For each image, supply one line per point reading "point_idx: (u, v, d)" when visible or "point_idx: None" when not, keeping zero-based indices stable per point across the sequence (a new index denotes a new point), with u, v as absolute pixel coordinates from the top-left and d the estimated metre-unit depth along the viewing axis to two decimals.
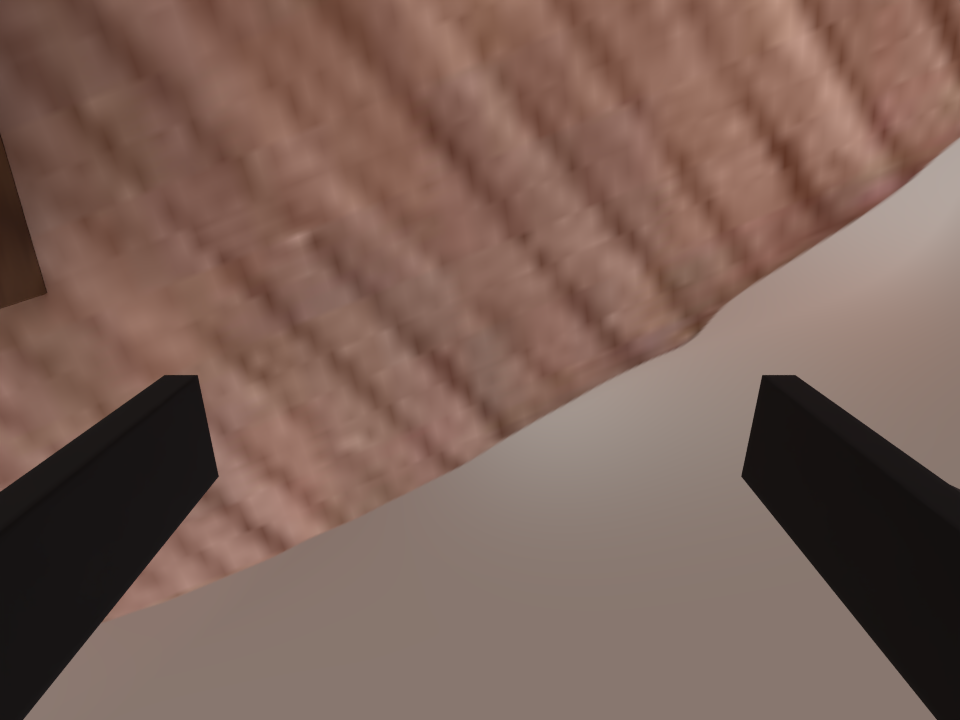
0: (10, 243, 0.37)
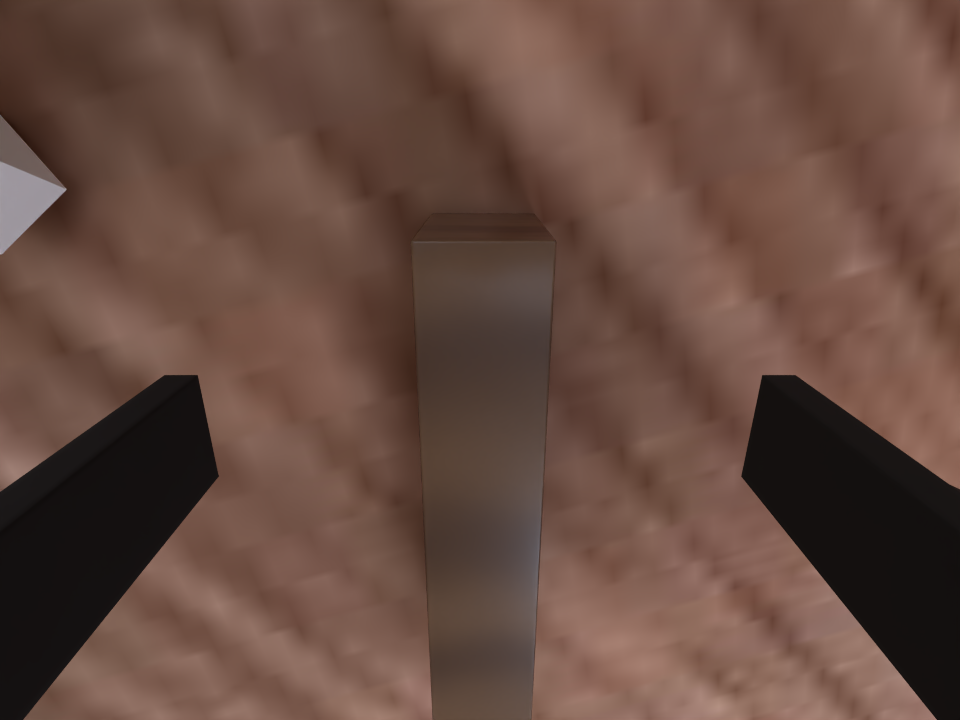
0: None
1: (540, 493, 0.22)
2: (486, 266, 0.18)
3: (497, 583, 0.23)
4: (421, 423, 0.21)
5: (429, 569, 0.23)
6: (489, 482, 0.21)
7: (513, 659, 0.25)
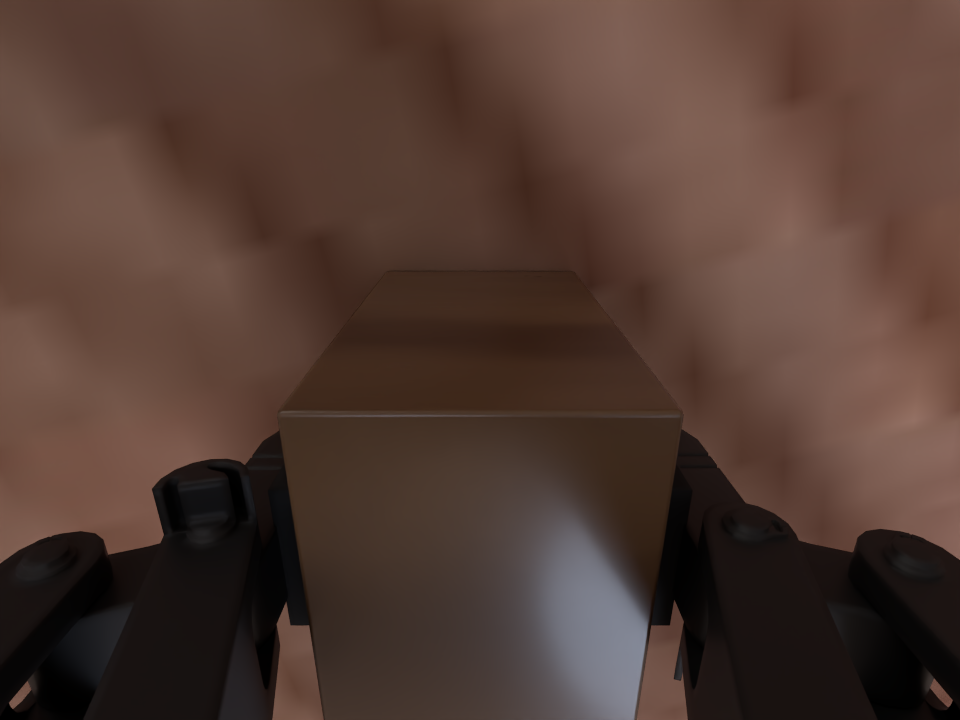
0: None
1: None
2: (487, 475, 0.07)
3: None
4: None
5: None
6: None
7: None
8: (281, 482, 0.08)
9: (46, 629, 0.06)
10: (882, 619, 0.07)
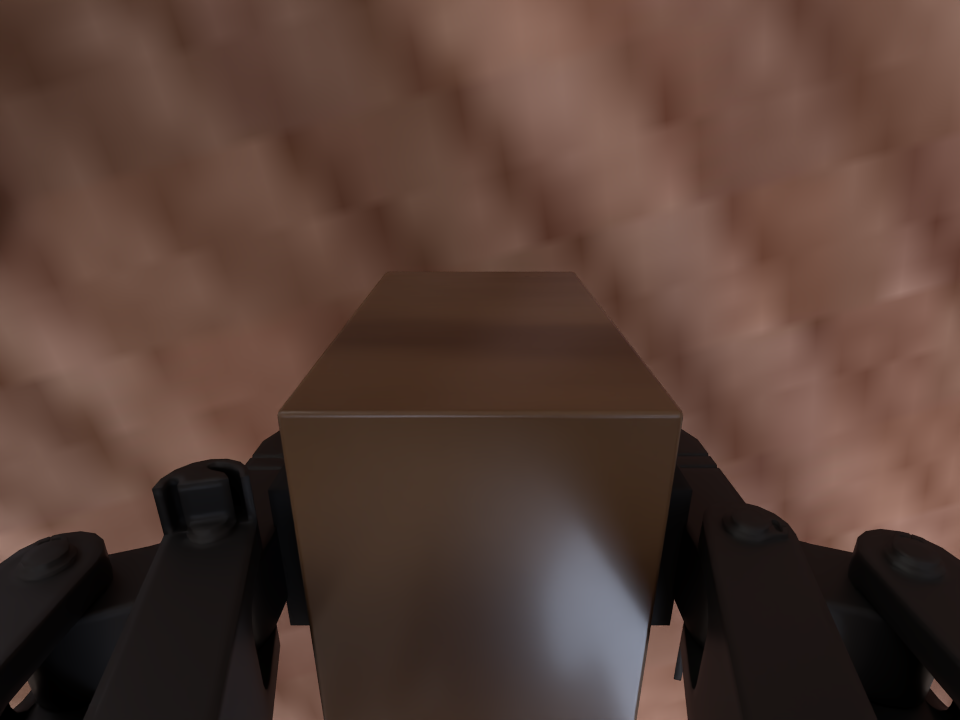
0: None
1: None
2: (487, 476, 0.07)
3: None
4: None
5: None
6: None
7: None
8: (281, 482, 0.08)
9: (46, 629, 0.06)
10: (882, 619, 0.07)
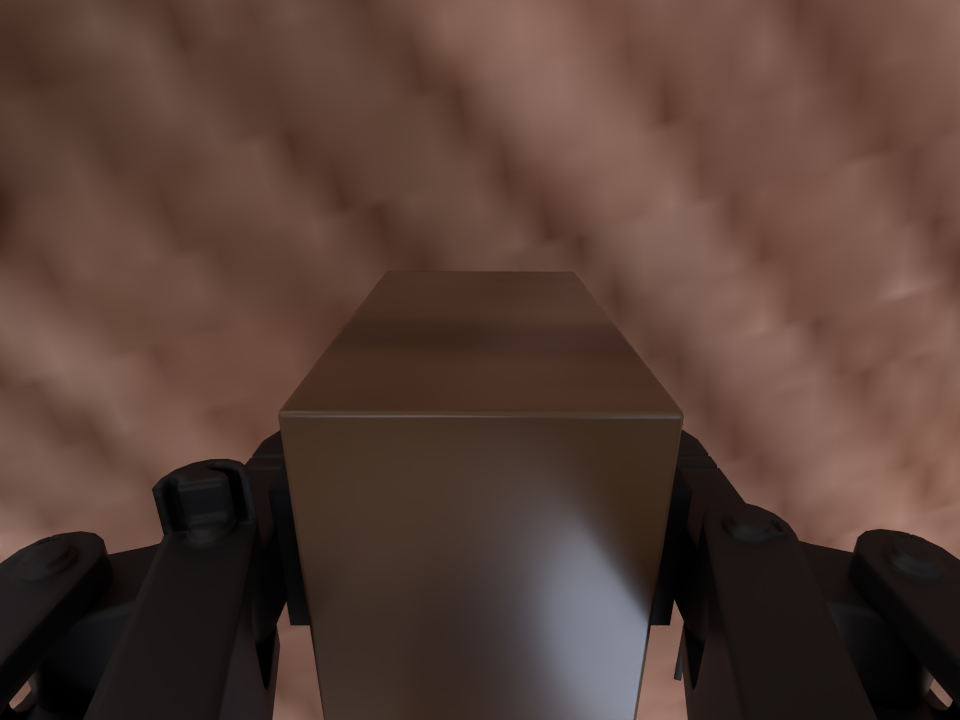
0: None
1: None
2: (488, 476, 0.07)
3: None
4: None
5: None
6: None
7: None
8: (281, 482, 0.08)
9: (46, 629, 0.06)
10: (882, 619, 0.07)
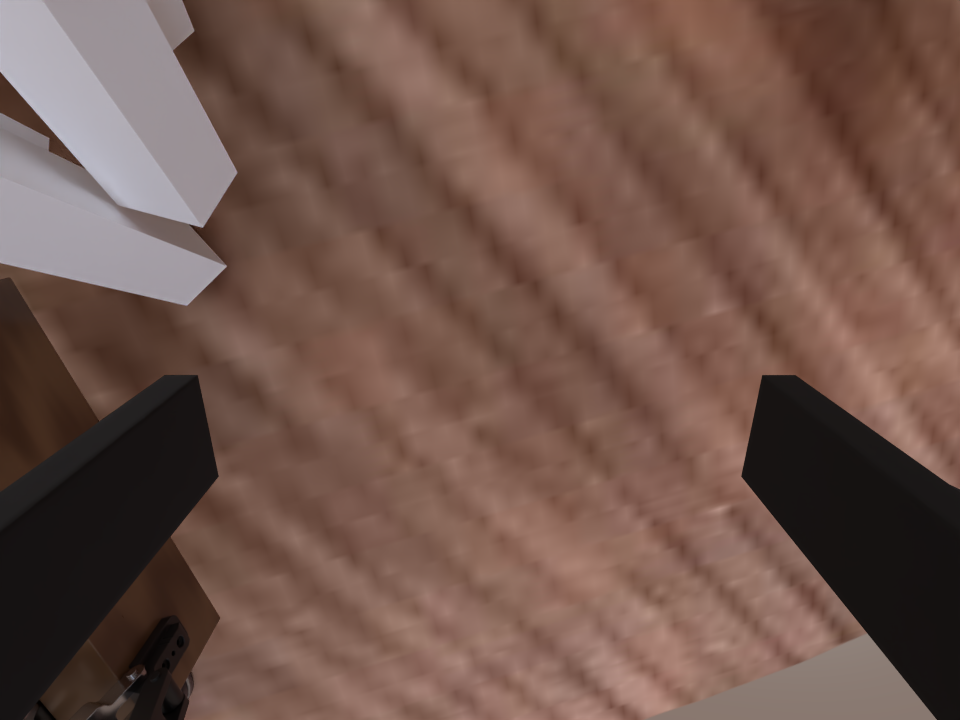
0: (180, 595, 0.35)
1: None
2: None
3: None
4: None
5: None
6: None
7: (84, 661, 0.28)
8: None
9: None
10: None
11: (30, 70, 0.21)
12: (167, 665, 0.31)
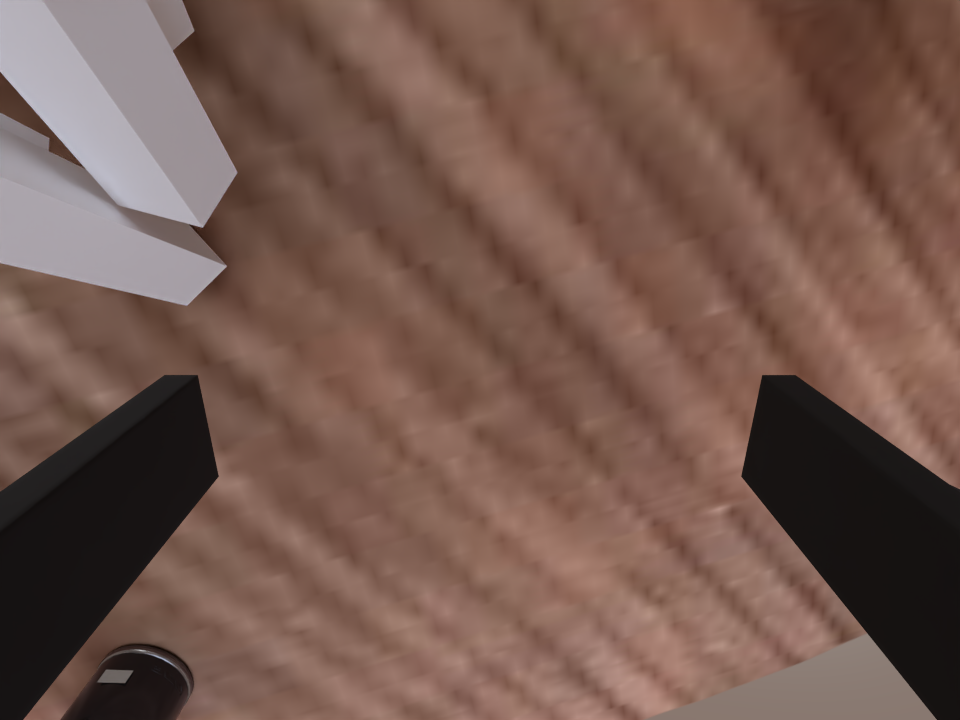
0: None
1: None
2: None
3: None
4: None
5: None
6: None
7: None
8: None
9: None
10: None
11: (30, 70, 0.21)
12: None
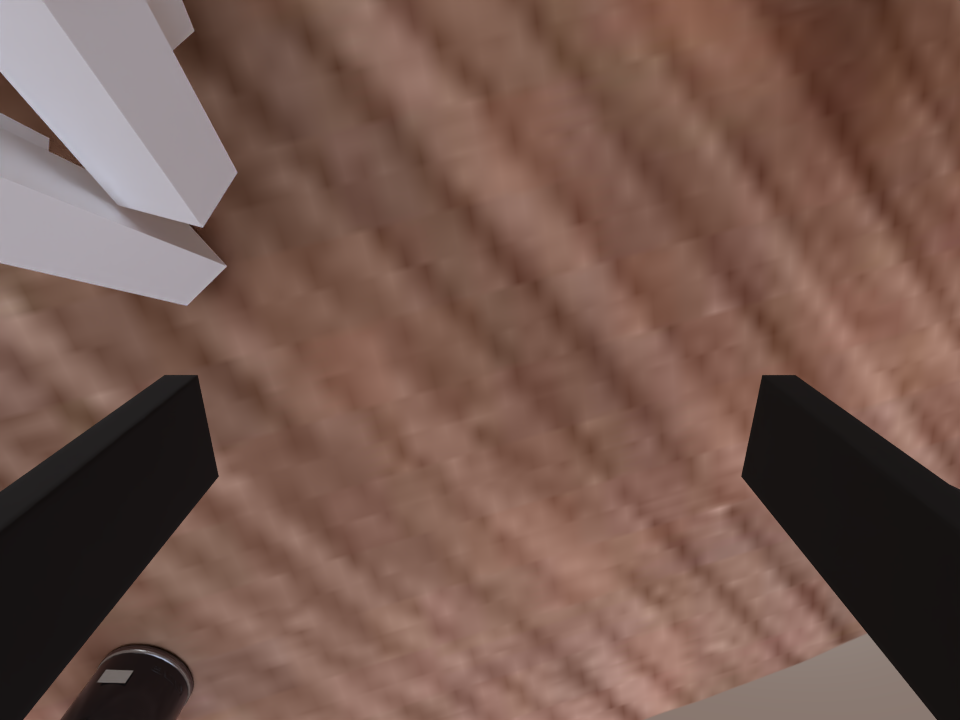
0: None
1: None
2: None
3: None
4: None
5: None
6: None
7: None
8: None
9: None
10: None
11: (30, 70, 0.21)
12: None
